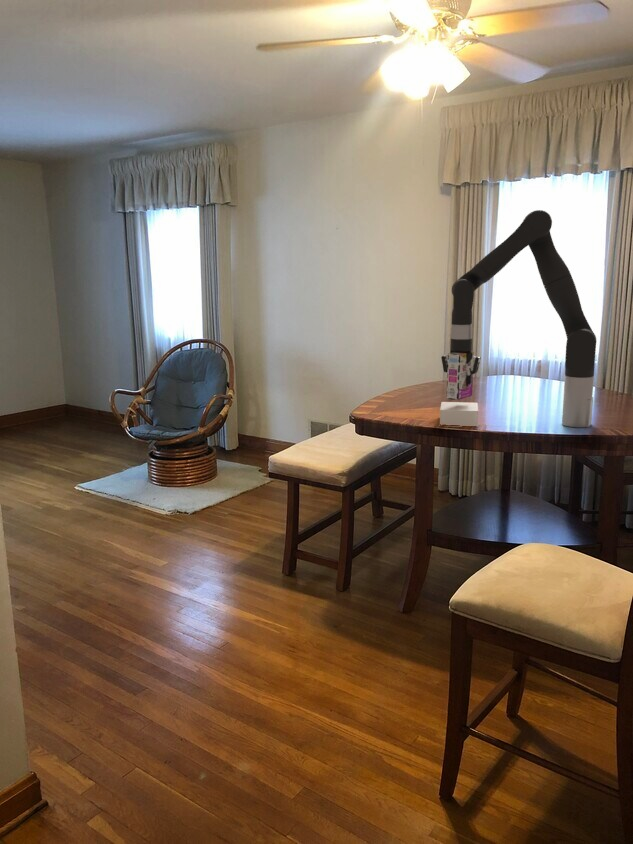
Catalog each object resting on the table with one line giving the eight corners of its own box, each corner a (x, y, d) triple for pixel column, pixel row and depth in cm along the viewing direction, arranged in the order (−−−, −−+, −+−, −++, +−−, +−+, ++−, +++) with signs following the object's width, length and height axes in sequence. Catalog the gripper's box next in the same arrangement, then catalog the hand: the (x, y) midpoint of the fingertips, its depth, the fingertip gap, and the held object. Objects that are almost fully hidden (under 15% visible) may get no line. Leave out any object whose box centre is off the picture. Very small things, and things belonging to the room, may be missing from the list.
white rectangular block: (477, 418, 243) (477, 402, 241) (477, 427, 228) (478, 411, 227) (441, 417, 246) (441, 401, 244) (439, 426, 231) (440, 410, 230)
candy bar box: (458, 400, 229) (460, 354, 226) (446, 399, 232) (447, 353, 229) (473, 395, 238) (474, 350, 234) (460, 394, 241) (462, 349, 237)
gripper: (484, 336, 230) (483, 384, 234) (445, 335, 237) (444, 382, 241) (478, 339, 224) (476, 388, 227) (438, 337, 231) (437, 385, 234)
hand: (460, 384), depth 234 cm, fingers closed on candy bar box, 5 cm apart
